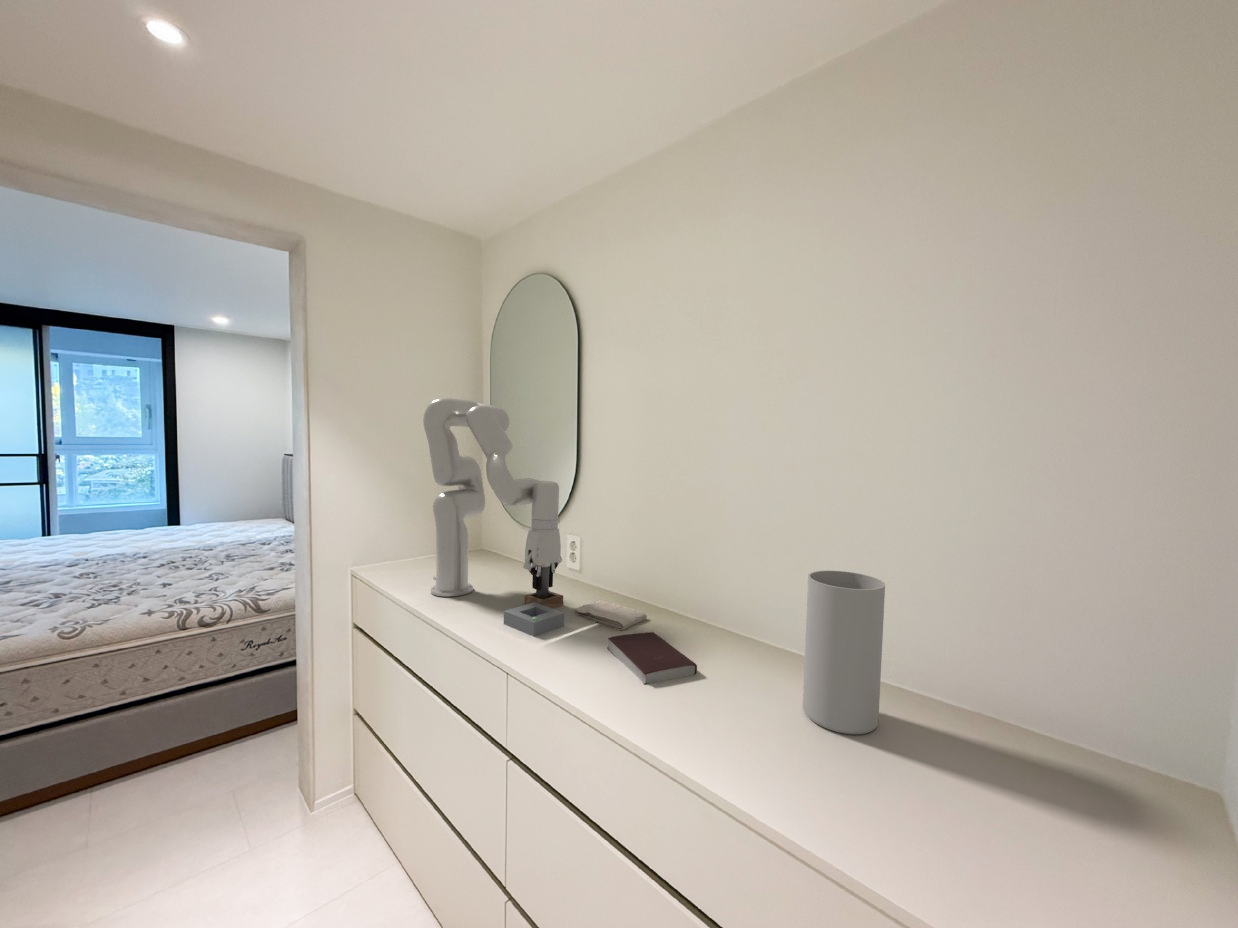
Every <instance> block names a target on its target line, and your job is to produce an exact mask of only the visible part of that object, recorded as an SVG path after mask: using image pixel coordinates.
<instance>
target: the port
mask: <svg viewBox="0 0 1238 928" xmlns="http://www.w3.org/2000/svg"><path fill="white" fill-rule="evenodd" d="M503 625H505V626H507V627H510V628H511V629H515V630H517V631H519V632H521V633H524V634H526V635H528V636H530V637H531V636H532V637H536V636H540V635H542V634H545V633H548V632H552V631H553V630H557V629H560V628H563V627H564V626H565V612H563V611H560V610H557V609H556V608H554V609H552V608H549V607H546V606H543V605H540V604H538V603H535V602H533V603H530V604H526V605H525V604H523V605H520V606H516V607H513V608H509V609H506V610H503Z"/></svg>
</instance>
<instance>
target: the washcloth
mask: <svg viewBox="0 0 1238 928" xmlns="http://www.w3.org/2000/svg"><path fill="white" fill-rule="evenodd" d="M573 614H575V615H577V616H580V617H583V618H588V619H590V620H592V621H593V620H594V621H596V622H595V624H598V625H601V626H603V627H607V628H611V629H614V630H616V631H624V630H626V629H629V628H630V627H631V626H634V625H637V624H639V623H642V622H643V621H646V619H647V618H648V617H647V616H648V615H647V613H646V612H644V611H642V610H638V609H634V608H631V607H628V606H625V605H621V604H617V603H613V602H609V601H607V600H602V599H598V600H594V601H593V602H592V603H589V604H583V605H581V606H579V607H577V608H574V612H573Z"/></svg>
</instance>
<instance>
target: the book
mask: <svg viewBox="0 0 1238 928" xmlns="http://www.w3.org/2000/svg"><path fill="white" fill-rule="evenodd" d="M607 640H608V646H607V651H609V652H610V654H612V655H613V656H614V657H615V658H616V659H617V660H619V661H620V663H622V664H623V665H624V666H625V667H626V668H627V670H629V671H630V672H632V673H633V675H634V676H635V677H637V679H639V681H641V682H642V684H643V685H645V686H646V685H648V684H653V683H658V682H663V681H668V680H673V679H677V678H682V677H681V676H683V677H688V676H692V675H691V674H693V675H695V674H696V675H697V671H698V665H697V663H696V662H694V661H693V660H692V659H690V658H688V657H687V656H686V655H685V654H683V653H682V652H681V651H679V650H678V649H677V648H675V647H674V646H673V645H670V643H669V642H667V641H666V640H665V639H663V638H662V637H660V635H658V634H657V633H656V632H654V631H650V632H649V631H647V632H639V633H630V634H629V633H628V634H620V635H615V636H613V635H612V636H610V637H608V638H607ZM687 675H688V676H687Z"/></svg>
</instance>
